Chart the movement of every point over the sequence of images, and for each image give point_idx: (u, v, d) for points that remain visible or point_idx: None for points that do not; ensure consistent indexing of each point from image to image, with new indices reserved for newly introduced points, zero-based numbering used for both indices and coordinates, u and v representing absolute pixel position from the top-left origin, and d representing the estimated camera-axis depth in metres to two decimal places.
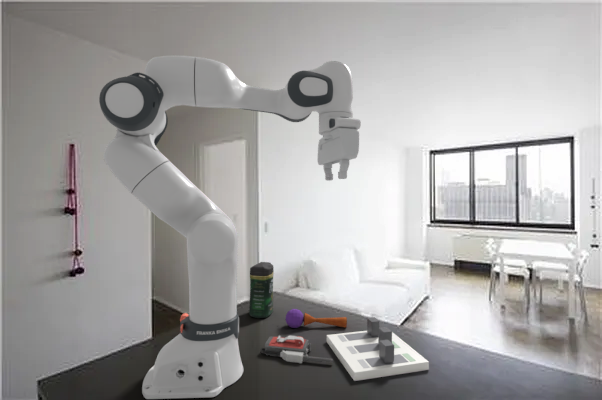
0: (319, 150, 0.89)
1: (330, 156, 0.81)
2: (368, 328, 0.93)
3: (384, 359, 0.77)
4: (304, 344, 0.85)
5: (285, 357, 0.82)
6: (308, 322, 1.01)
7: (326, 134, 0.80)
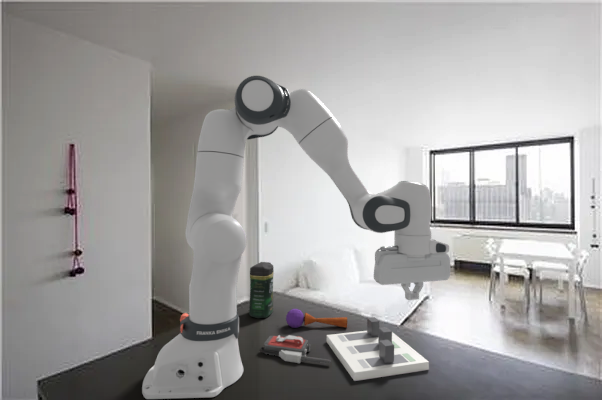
0: (387, 268, 0.76)
1: (420, 277, 0.78)
2: (368, 328, 0.93)
3: (384, 359, 0.77)
4: (303, 344, 0.85)
5: (284, 356, 0.82)
6: (308, 322, 1.01)
7: (423, 256, 0.77)
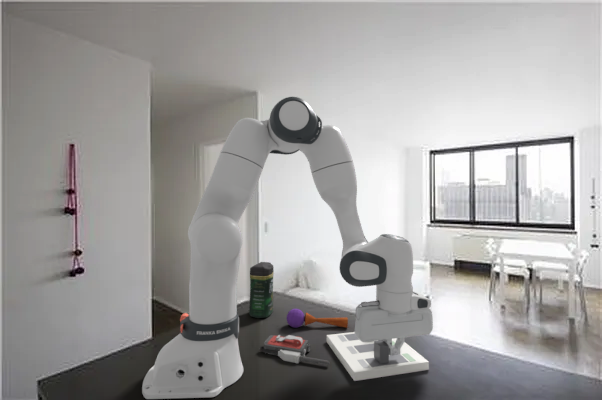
0: (368, 325, 0.75)
1: (401, 332, 0.77)
2: None
3: (379, 360, 0.76)
4: (302, 344, 0.85)
5: (282, 356, 0.82)
6: (309, 322, 1.02)
7: (404, 312, 0.76)
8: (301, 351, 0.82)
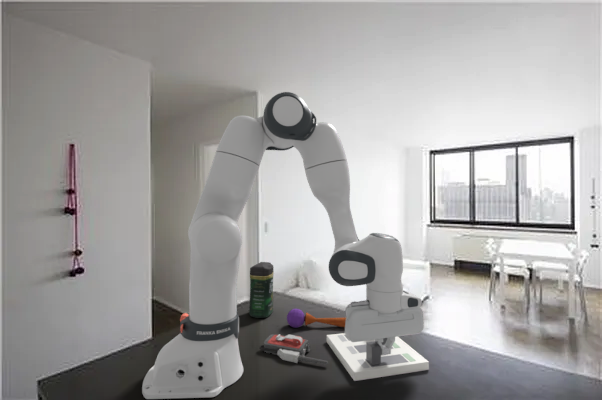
0: (358, 325, 0.74)
1: (392, 332, 0.76)
2: None
3: (371, 361, 0.76)
4: (302, 344, 0.85)
5: (282, 355, 0.82)
6: (309, 322, 1.01)
7: (394, 311, 0.75)
8: (300, 351, 0.83)
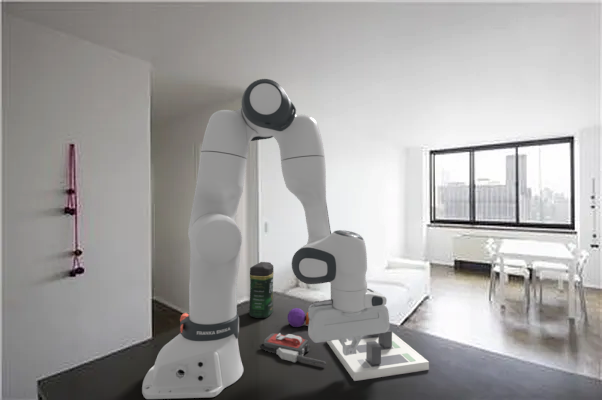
0: (320, 325, 0.72)
1: (356, 331, 0.75)
2: None
3: (371, 361, 0.76)
4: (301, 344, 0.85)
5: (281, 354, 0.83)
6: None
7: (358, 310, 0.73)
8: (299, 350, 0.83)
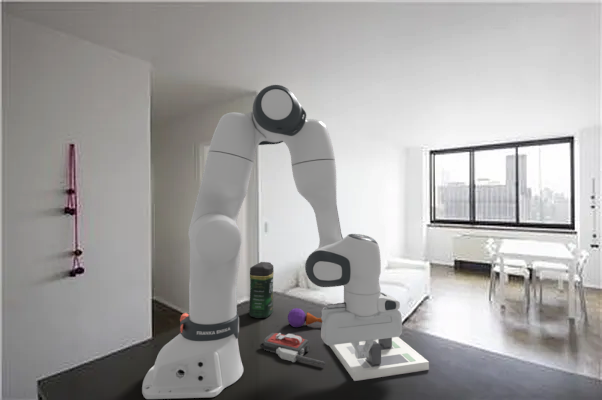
0: (333, 328, 0.73)
1: (369, 335, 0.75)
2: None
3: (371, 361, 0.76)
4: (301, 344, 0.85)
5: (280, 354, 0.83)
6: (310, 322, 1.02)
7: (371, 314, 0.74)
8: (298, 350, 0.83)
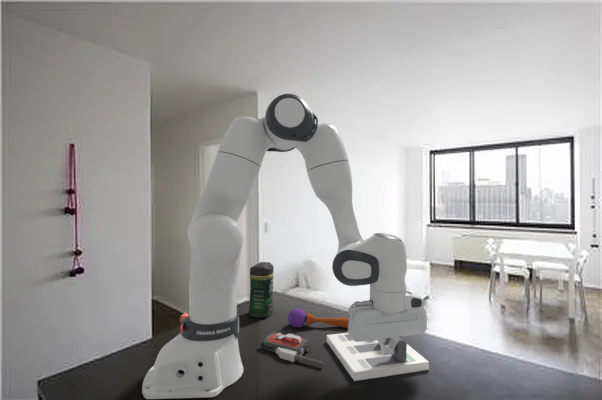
0: (361, 325, 0.74)
1: (395, 332, 0.77)
2: None
3: (396, 357, 0.78)
4: (300, 344, 0.85)
5: (279, 354, 0.83)
6: (310, 322, 1.02)
7: (397, 311, 0.75)
8: (298, 350, 0.83)
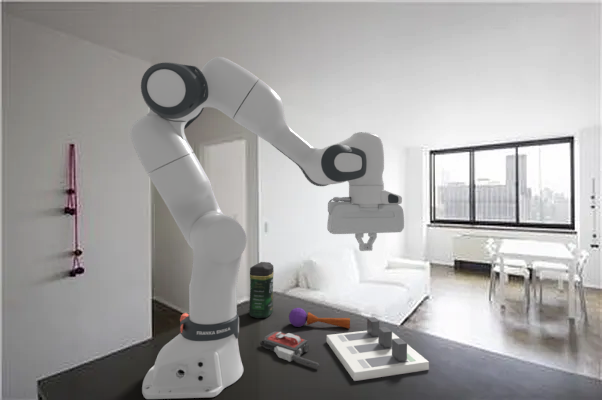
0: (339, 218, 0.77)
1: (373, 227, 0.79)
2: (368, 328, 0.93)
3: (397, 357, 0.78)
4: (299, 344, 0.85)
5: (277, 352, 0.84)
6: (311, 321, 1.02)
7: (375, 206, 0.78)
8: (295, 350, 0.83)
